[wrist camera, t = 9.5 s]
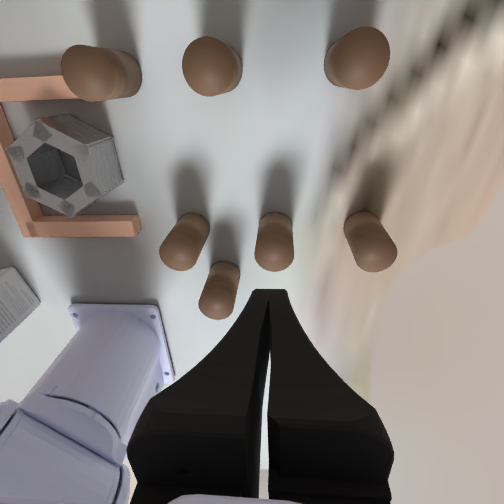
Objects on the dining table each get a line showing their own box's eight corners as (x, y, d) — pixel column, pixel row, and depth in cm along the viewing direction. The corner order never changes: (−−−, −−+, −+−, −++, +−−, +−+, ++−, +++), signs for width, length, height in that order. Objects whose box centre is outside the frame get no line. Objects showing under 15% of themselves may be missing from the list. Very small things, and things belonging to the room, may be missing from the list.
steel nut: (129, 201, 23) (109, 217, 20) (61, 202, 23) (33, 218, 21) (107, 112, 20) (81, 117, 17) (30, 115, 20) (-6, 121, 18)
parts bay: (141, 229, 24) (135, 236, 23) (34, 230, 25) (23, 237, 24) (105, 73, 19) (95, 73, 18) (-27, 80, 20) (-44, 80, 19)
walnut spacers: (382, 288, 25) (398, 323, 21) (152, 285, 26) (132, 317, 23) (449, -72, 15) (501, -119, 11) (75, -39, 16) (20, -70, 13)
